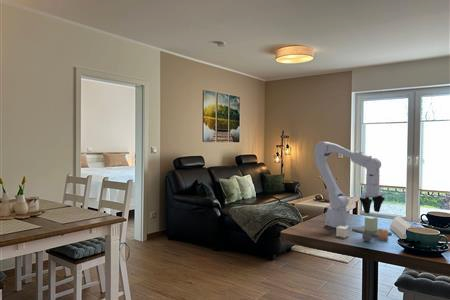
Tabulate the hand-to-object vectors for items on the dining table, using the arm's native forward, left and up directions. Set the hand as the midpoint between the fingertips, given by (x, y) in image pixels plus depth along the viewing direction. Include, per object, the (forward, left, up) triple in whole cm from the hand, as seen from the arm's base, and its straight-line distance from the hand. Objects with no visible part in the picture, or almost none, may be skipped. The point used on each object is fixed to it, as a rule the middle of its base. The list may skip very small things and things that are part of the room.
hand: (371, 212), depth 154 cm
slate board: (0, 0, -10) cm, 10 cm away
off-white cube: (-3, -17, -10) cm, 20 cm away
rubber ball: (+8, -15, -10) cm, 20 cm away
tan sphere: (+9, -5, -10) cm, 14 cm away
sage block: (0, 0, -9) cm, 9 cm away
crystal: (+10, +10, -10) cm, 17 cm away
